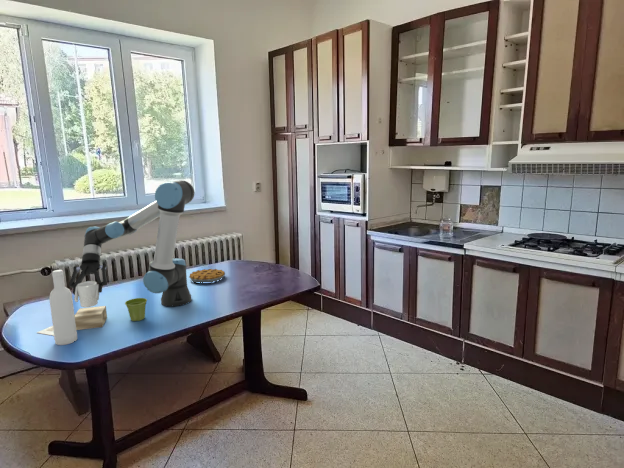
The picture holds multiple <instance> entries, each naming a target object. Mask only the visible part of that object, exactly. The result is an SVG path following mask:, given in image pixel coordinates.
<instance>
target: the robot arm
mask: <svg viewBox="0 0 624 468" xmlns="http://www.w3.org/2000/svg"><path fill="white" fill-rule="evenodd" d="M194 197H195V189H194V187H193V185H192V184H191V183H190V182H188V181H186V180H173V181H171V180H169V181H164V182H163V183H161V184H159V186H158V187H156V190H155V193H154V199H155V201H153V202H151V203H150V204H148V205H147V206H145V207H143V208H141V209H140V210H138V211H136V212H135V213H133V214H132V215H130V216H128V217H127V218H125V219H123V220H121V221H113V222H109V223H107V224H105V225H103V226H101V227H99V226H89V227H88V228H86V230H85V234H84V241H83V250H82V256H81V264H80V265H79V266H73V267H72V273H71V278H70V280H69V283H68V286H69V288H70V289H72V295H73V296H74V297H73V300H74V302H75V303H78V302H79V295H78V289H77V284H79V283H82V282H83V280H84V279H85V277H86V276H87V275H94V277H95V279H96V282H97V287H96V296H95V298H96V300H98V301H99V300H100V293H101V294H102V292H103V286H107V285H108V278H107V273H106V272H107V265H106V264H101V254H102V246H103V244H105V243H108V242H110V241H112V240H116V239H119V238H121V237H125V236H128V235H132V234H134V233H136V232H137V231H138V230H140V229H141V228H142V227H144V226H146V225H147V224H150V223H151V222H152V221H154V220H156V219H157V218H159V221H158V228H157V233H156V234H157V236H156V243H155V248H154V256H153V259H152V260H151V261H150V262H149V267H148V271H147V272H146V273H145V274H144V275H143V278H142V282H143V285H144V287H145V288H146V289H147V291H148V292H150V293H152V294H161V293H162V294H161V298H160V303H161V305H162V306H165V307H180V306H184V305H186V303H187V304H189V303H190V302H191V301H192V295H191V292H190V289H189V286H188V281H187V280H188V279H187V277H188V276H187V265H186V260H185V259H184V258H178V257H177V258H174V254H175V249H176V244H177V243H176V241H177V235H178V229H179V223H180V216H181V215H183V213H185V207H186V206H185V205H187V204H190V203H191V202H192V200H193V199H194ZM99 270H101V275H102V276H101V277H102V281H101V279H100V276H99V274H98V271H99ZM79 272H80V274H79V275H78V273H79ZM188 302H189V303H188ZM183 304H184V305H183ZM179 305H180V306H179Z"/></svg>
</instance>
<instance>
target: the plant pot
mask: <svg viewBox="0 0 624 468" xmlns="http://www.w3.org/2000/svg"><path fill="white" fill-rule="evenodd" d="M147 301H148V299H147V298H146V297H145V298H143V297H136V298H131V299H128V300H126V301H125V303H124V305H125V306H126V308H127V311H128V314H129V318H130V321H132V322H137V321H144V319H145V317H146V305H147Z"/></svg>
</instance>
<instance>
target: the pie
mask: <svg viewBox="0 0 624 468" xmlns="http://www.w3.org/2000/svg"><path fill="white" fill-rule="evenodd" d="M225 275H226V272H225V271H224V270H223V269H217V268H215V269H212V268H209V269H206V268H205V269H202V270H201V269H198V270H196V271H192V272H191V273H189V276H188V278H189V279H190V280H191V282H192V281H193V282H200V283H201V282H202V283H203V282H213V281H217V280H220V279H221V278H224V276H225ZM193 282H192V283H193Z"/></svg>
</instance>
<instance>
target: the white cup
mask: <svg viewBox="0 0 624 468" xmlns="http://www.w3.org/2000/svg"><path fill="white" fill-rule="evenodd" d="M97 285H98V281H94V280H87V281H82V282H81V283H79V284H77V289H78V295H79V296H78V301H79V303H80V308H89V307H96V306H97V305H98V303H99V300H96V298H95V296H96V287H97Z"/></svg>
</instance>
